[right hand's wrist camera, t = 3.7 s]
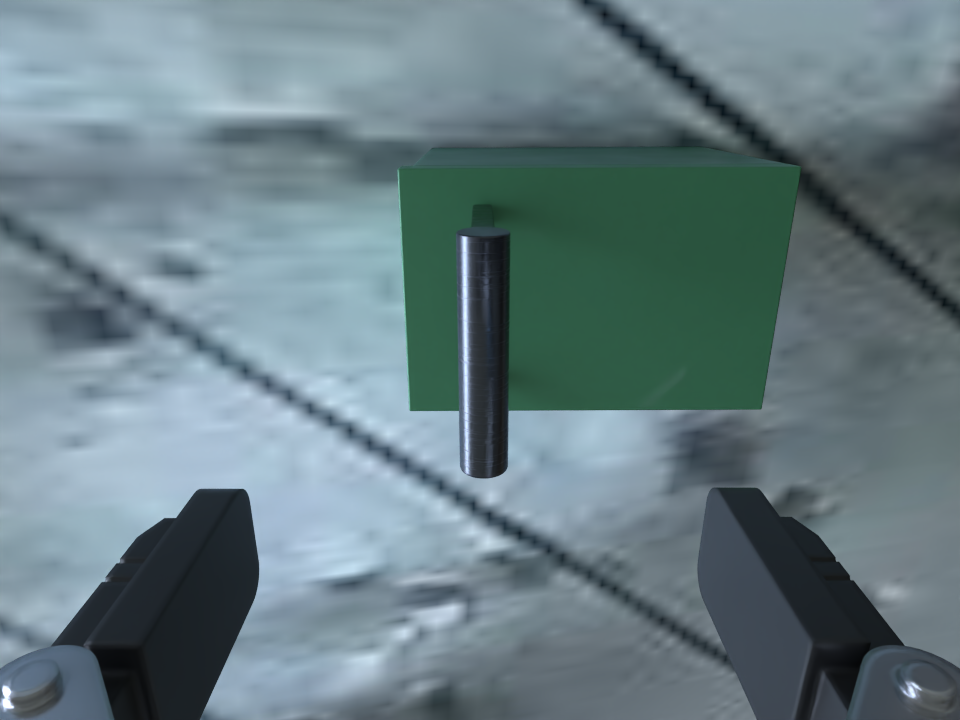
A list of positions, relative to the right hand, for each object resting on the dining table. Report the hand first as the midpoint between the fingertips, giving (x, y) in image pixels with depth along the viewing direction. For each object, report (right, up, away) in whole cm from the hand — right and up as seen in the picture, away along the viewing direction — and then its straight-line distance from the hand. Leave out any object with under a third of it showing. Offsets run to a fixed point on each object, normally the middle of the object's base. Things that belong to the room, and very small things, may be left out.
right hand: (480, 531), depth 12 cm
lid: (+4, +6, +14) cm, 16 cm away
